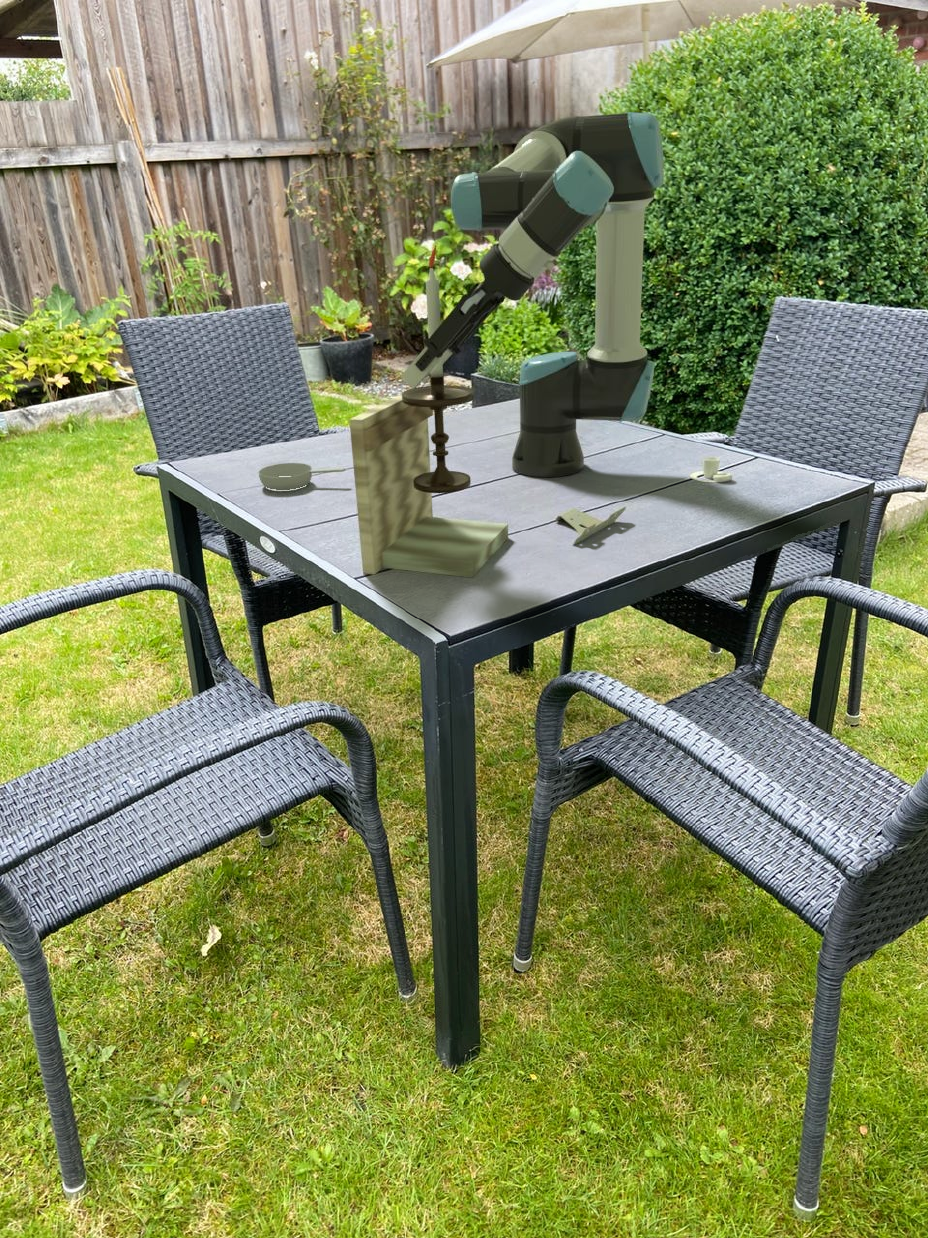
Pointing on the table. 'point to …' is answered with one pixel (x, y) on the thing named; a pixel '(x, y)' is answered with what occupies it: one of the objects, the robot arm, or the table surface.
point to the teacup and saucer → (711, 471)
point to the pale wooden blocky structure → (409, 499)
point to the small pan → (297, 472)
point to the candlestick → (438, 404)
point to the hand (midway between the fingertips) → (413, 379)
